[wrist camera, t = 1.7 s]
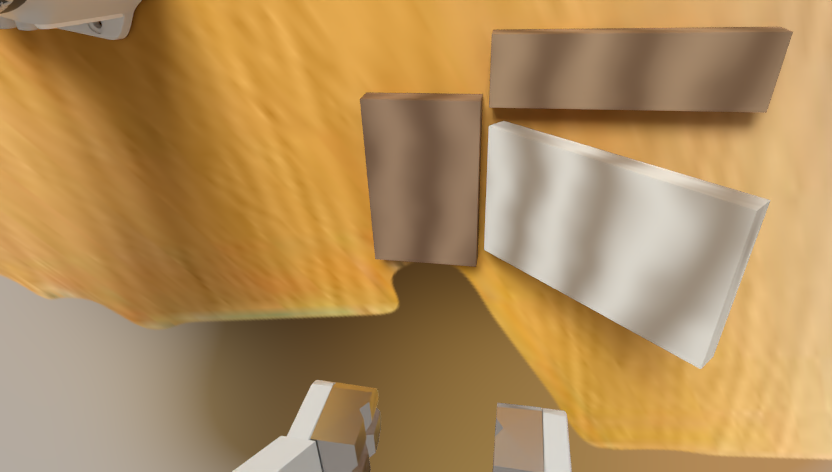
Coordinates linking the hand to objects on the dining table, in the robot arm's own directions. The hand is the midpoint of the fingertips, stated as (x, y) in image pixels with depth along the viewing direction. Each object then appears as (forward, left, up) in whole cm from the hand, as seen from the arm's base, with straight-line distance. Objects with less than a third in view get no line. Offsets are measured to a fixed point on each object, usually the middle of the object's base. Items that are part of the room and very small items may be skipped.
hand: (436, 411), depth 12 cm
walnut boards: (+4, -8, -34) cm, 35 cm away
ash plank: (+8, -10, -27) cm, 30 cm away
